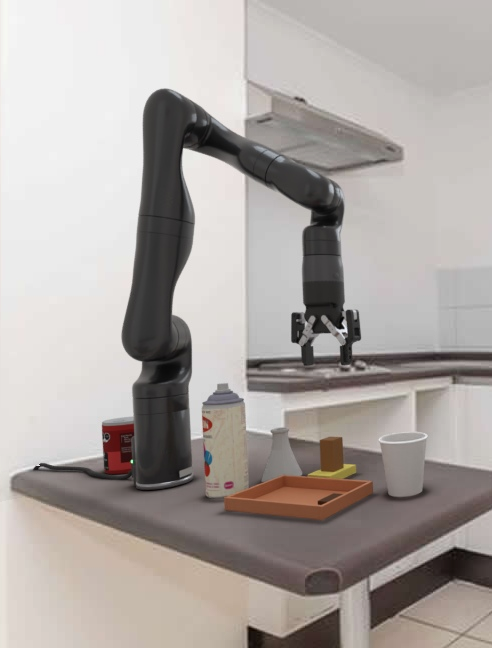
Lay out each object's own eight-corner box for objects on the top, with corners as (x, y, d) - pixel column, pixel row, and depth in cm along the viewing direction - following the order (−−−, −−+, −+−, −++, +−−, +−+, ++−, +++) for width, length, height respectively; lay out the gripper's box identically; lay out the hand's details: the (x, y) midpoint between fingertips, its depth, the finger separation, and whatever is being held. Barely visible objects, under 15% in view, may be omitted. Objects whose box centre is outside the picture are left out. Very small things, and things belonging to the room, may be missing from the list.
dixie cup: (425, 484, 101) (423, 429, 101) (434, 497, 93) (431, 438, 93) (378, 490, 98) (376, 434, 98) (383, 504, 90) (380, 444, 90)
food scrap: (317, 507, 89) (317, 500, 89) (333, 499, 93) (333, 493, 93) (338, 508, 88) (338, 502, 88) (353, 500, 91) (353, 494, 91)
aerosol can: (205, 494, 100) (199, 383, 100) (246, 486, 104) (241, 380, 103) (207, 504, 94) (201, 387, 94) (251, 495, 98) (246, 383, 97)
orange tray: (224, 512, 89) (223, 497, 89) (284, 488, 102) (283, 474, 102) (322, 523, 83) (322, 506, 83) (373, 495, 96) (372, 481, 96)
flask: (287, 486, 103) (285, 432, 103) (253, 485, 105) (250, 432, 104) (309, 474, 110) (307, 425, 110) (277, 474, 112) (275, 425, 111)
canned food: (115, 466, 123) (113, 417, 123) (155, 463, 124) (153, 415, 124) (95, 476, 115) (93, 423, 115) (138, 472, 117) (135, 421, 116)
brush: (307, 485, 103) (306, 442, 103) (335, 473, 111) (333, 433, 111) (330, 486, 102) (328, 443, 101) (356, 474, 109) (354, 434, 109)
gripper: (366, 279, 107) (370, 363, 107) (306, 283, 111) (309, 363, 112) (342, 277, 100) (346, 366, 100) (278, 281, 104) (282, 367, 104)
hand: (326, 365), depth 106 cm, fingers open, 8 cm apart
